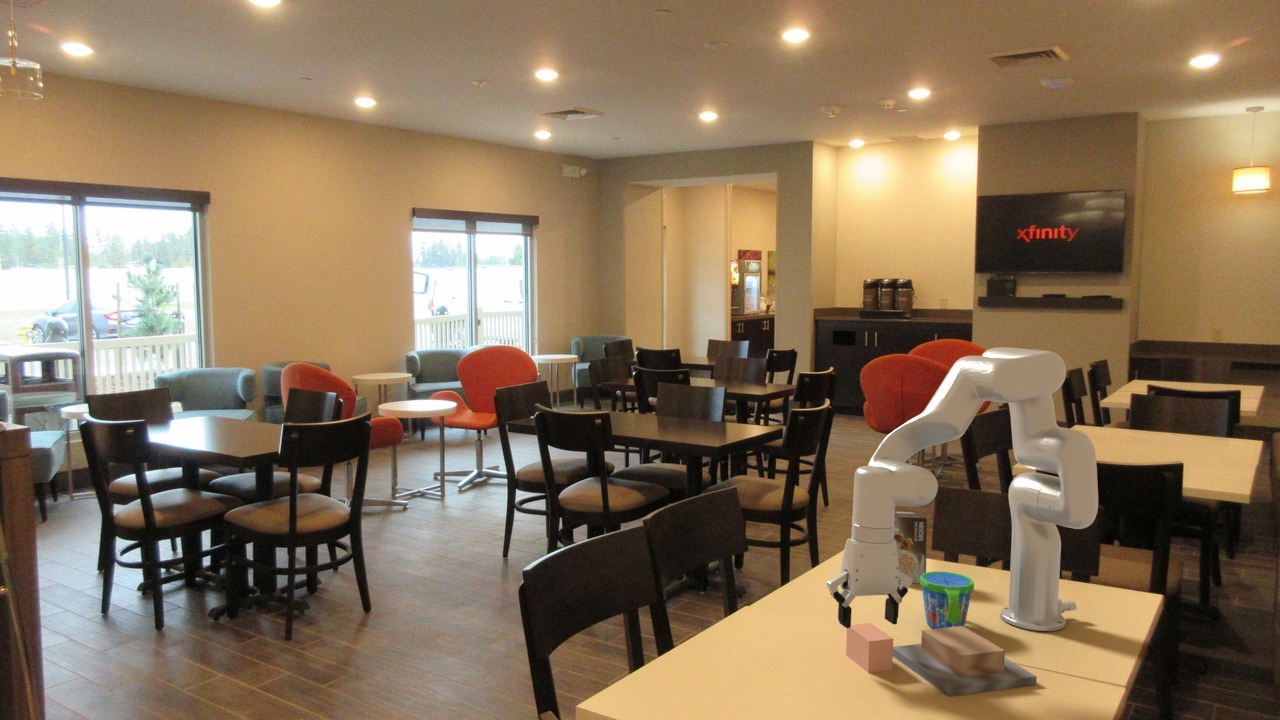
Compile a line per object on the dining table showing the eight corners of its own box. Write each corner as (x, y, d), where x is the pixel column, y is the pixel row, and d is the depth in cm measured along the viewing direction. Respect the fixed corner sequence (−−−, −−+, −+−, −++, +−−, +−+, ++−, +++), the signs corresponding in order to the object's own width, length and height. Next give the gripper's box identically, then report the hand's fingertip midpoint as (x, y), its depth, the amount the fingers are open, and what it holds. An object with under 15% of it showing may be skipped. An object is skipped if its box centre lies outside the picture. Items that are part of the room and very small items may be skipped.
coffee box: (922, 576, 217) (924, 511, 215) (926, 584, 210) (928, 518, 209) (883, 573, 218) (885, 509, 217) (886, 582, 212) (888, 516, 211)
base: (971, 645, 174) (972, 618, 174) (1036, 684, 157) (1037, 654, 157) (891, 654, 169) (892, 626, 169) (948, 696, 152) (950, 665, 152)
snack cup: (916, 610, 193) (918, 565, 192) (967, 615, 190) (969, 569, 190) (920, 637, 178) (922, 588, 177) (976, 643, 175) (978, 593, 174)
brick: (869, 653, 170) (870, 622, 170) (892, 670, 162) (893, 638, 162) (846, 655, 169) (847, 625, 168) (868, 673, 161) (869, 641, 161)
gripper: (902, 526, 170) (897, 613, 171) (820, 530, 165) (816, 619, 166) (925, 536, 162) (920, 627, 164) (840, 541, 158) (836, 634, 159)
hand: (867, 623), depth 165 cm, fingers open, 9 cm apart
